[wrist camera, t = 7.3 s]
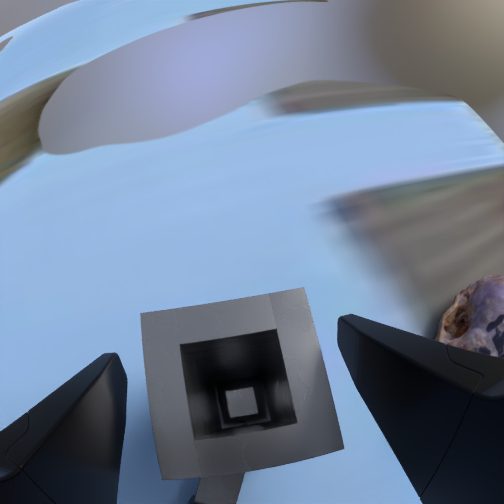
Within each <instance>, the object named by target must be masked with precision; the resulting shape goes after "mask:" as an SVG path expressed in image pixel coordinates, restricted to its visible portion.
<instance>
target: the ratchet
mask: <svg viewBox="0 0 504 504" xmlns="http://www.w3.org/2000/svg"><path fill="white" fill-rule="evenodd" d="M214 387H215V393H216V398H217V404H218V409H219V415H220V420H221V425H222V428H228V427H235V426H241V425H247V424H253V423H259V422H264V421H269V420H271V419H270V415H269V410H268V405H267V400H266V395H265V391H264V386H263V381H262V376H261V375H258V376H253V377H247V378H241V379H235V380H229V381H223V382H216V383H214ZM244 474H245V472H242V473H235V474H228V475H220V476H211V477H201V479H200V482H199V486H198V489H197V493H196V496H195V495H193V496H192V497H191V499H190V501H189V502H188V504H236V502H237V499H238V495H239V492H240V488H241V485H242V481H243V478H244Z"/></svg>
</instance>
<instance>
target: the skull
mask: <svg viewBox="0 0 504 504" xmlns="http://www.w3.org/2000/svg"><path fill="white" fill-rule="evenodd" d="M460 309H463V312H462V313H461V314H460V315H459V316H458V317H457V312H458V310H460ZM463 320H464V323H463V322H462V321H463ZM435 340H436V341H439V342H442V343H445V344H446V345H447V344H449V345H452V346H455V347H459V348H462V349H466V350H470V351H474V352H478V353H482V354H487V355H491V356H496V357H501V358H504V275H498V276H495V275H490V276H487V277H485V278H482V279H480V280H479V281H477V282H476V283H475V284H470V285H469V286H468V287H467V289H466V290H463V291H461V292H460V294H456V296H455V300H454V302H453V304H452V305H451V306H450V307H449V308H448V310H447V311H446V312H445V313H444V314H443V315H442V317H441V319H440V322H439V327H438V333H437V335H436V338H435Z"/></svg>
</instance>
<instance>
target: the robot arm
mask: <svg viewBox="0 0 504 504" xmlns="http://www.w3.org/2000/svg"><path fill="white" fill-rule="evenodd" d="M337 342H338V347H339V350H340V352H341V354H342V357H343V359H344V361H345V363H346V366H347V368H348V370H349V373H350V375H351V377H352V380H353V382H354V384H355V386H356V388H357V390H358V392H359V394H360V395H361V397H362V399H363V400H364V402H365V404H366V405H367V407H368V409H369V411H370V412H371V414H372V416H373V417H374V419H375V421H376V423H377V424H378V426H379V428H380V429H381V431H382V433H383V435H384V436H385V438H386V440H387V442H388V443H389V445H390V447H391V448H392V450H393V452H394V454H395V455H396V457H397V459H398V461H399V462H400V464H401V466H402V468H403V469H404V471H405V473H406V475H407V477H408V478H409V480H410V482H411V484H412V485H413V487H414V489H415V491H416V492H417V494H418V496H419V497H420V500H421V502H422V504H504V358H501V357H496V356H491V355H487V354H482V353H478V352H474V351H470V350H466V349H462V348H459V347H455V346H452V345H449V344H447V345H446V344H445V343H442V342H439V341H436V340H432V339H429V338H426V337H423V336H419V335H416V334H413V333H410V332H406V331H403V330H400V329H397V328H394V327H391V326H388V325H384V324H381V323H378V322H375V321H372V320H369V319H366V318H363V317H360V316H357V315H354V314H348V315H344V316H340V317H339V318H338V330H337ZM126 404H127V376H126V373H125V370H124V368H123V365H122V363H121V360H120V358H119V356H118V354H117V353H104V354H102V355H101V356H100V357H98V358H97V359H96V360H94V361H93V362H92V363H90V364H89V365H88V366H87V367H85V368H84V369H83V370H81V371H80V372H79V373H77V374H76V375H75V376H73V377H72V378H71V379H69V380H68V381H67V382H65V383H64V384H63V385H62V386H60V387H59V388H58V389H56V390H55V391H54V392H52V393H51V394H50V395H48V396H47V397H46V398H45V399H43V400H42V401H41V402H39V403H38V404H37V405H35V406H34V407H33V408H31V409H30V410H29V411H28V413H27V412H26V413H25V414H24V415H22V416H21V417H20V418H18V419H17V420H16V421H14V422H13V423H12V424H10V425H9V426H7V427H6V428H5V429H3V430H2V431H0V504H117V493H118V482H119V473H120V464H121V456H122V448H123V441H124V434H125V426H126Z"/></svg>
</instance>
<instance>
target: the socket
mask: <svg viewBox="0 0 504 504" xmlns="http://www.w3.org/2000/svg"><path fill="white" fill-rule="evenodd" d="M140 315H141V330H142V344H143V355H144V365H145V375H146V384H147V392H148V400H149V407H150V414H151V421H152V427H153V433H154V439H155V445H156V451H157V456H158V461H159V466H160V471H161V476H162V480H170V479H188V478H200V477H211V476H220V475H228V474H235V473H242V472H248V471H254V470H260V469H265V468H271V467H276V466H280V465H285V464H289V463H294V462H298V461H302V460H306V459H310V458H314V457H318V456H321V455H325V454H328V453H332V452H335V451H339V450H342V449H344V444H343V440H342V435H341V431H340V427H339V422H338V418H337V414H336V409H335V405H334V401H333V397H332V393H331V388H330V384H329V380H328V376H327V372H326V368H325V364H324V360H323V356H322V352H321V348H320V345H319V341H318V337H317V333H316V329H315V326H314V322H313V318H312V314H311V311H310V307H309V303H308V300H307V296H306V292H305V289H304V287H303V288H297V289H292V290H286V291H281V292H275V293H269V294H264V295H258V296H252V297H246V298H240V299H234V300H228V301H222V302H215V303H209V304H202V305H196V306H189V307H182V308H175V309H168V310H161V311H154V312H147V313H140ZM258 375H261V376H262V381H263V386H264V391H265V395H266V400H267V405H268V410H269V415H270V419H271V420H269V421H264V422H259V423H253V424H247V425H241V426H235V427H228V428H222V425H221V420H220V415H219V409H218V404H217V398H216V393H215V387H214V383H216V382H223V381H229V380H235V379H241V378H247V377H253V376H258Z"/></svg>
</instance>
